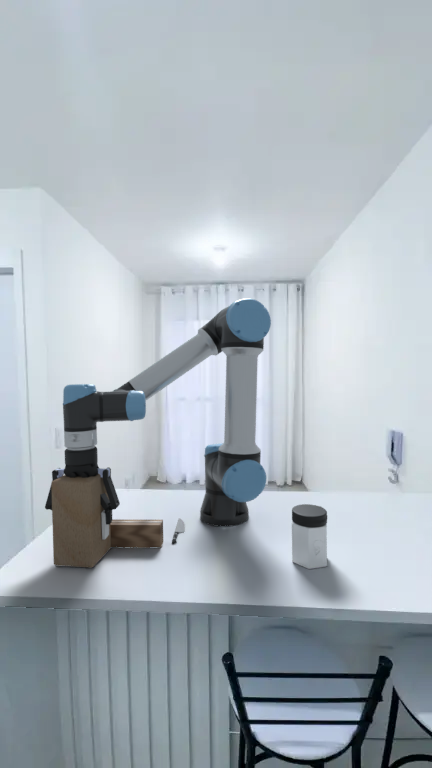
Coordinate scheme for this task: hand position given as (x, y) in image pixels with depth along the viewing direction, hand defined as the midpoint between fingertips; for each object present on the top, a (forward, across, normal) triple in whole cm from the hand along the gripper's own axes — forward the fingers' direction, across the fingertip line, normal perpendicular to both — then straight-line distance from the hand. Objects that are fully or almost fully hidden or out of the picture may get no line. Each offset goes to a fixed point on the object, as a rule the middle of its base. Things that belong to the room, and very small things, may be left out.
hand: (83, 536), depth 89 cm
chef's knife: (+6, +21, +17) cm, 28 cm away
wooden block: (+5, 0, 0) cm, 5 cm away
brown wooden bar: (+5, +6, +7) cm, 11 cm away
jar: (+6, +55, 0) cm, 55 cm away
